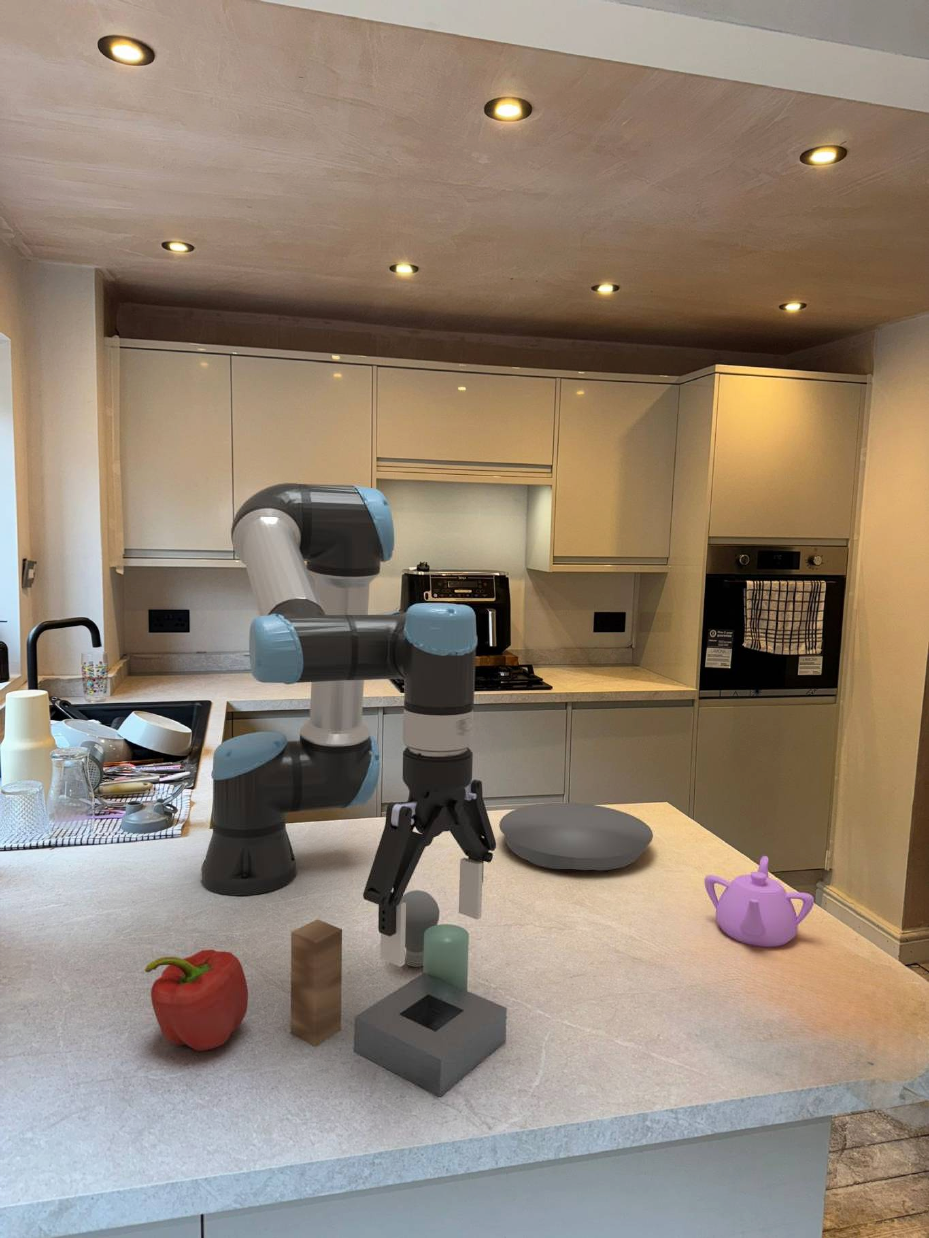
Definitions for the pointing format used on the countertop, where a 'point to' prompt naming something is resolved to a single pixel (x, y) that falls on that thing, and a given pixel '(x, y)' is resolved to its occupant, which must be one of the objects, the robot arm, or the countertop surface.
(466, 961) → the green round bit
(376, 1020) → the bore block
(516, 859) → the countertop surface
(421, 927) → the light bulb
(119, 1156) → the countertop surface
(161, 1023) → the vegetable
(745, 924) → the teapot
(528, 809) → the flat disc
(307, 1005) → the walnut square peg
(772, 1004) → the countertop surface
